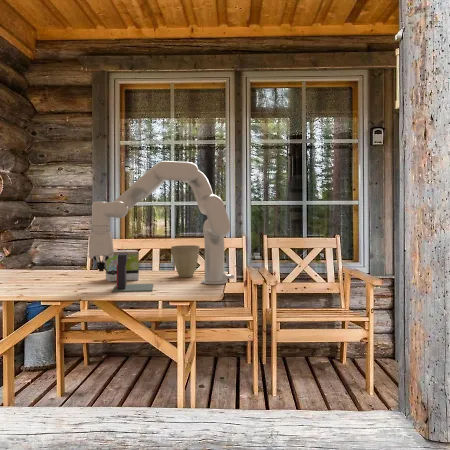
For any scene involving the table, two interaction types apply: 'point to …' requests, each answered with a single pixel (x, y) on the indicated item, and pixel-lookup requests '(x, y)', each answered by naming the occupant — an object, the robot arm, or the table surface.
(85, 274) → the table surface
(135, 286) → the mat
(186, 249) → the plant pot
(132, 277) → the tea box
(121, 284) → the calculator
